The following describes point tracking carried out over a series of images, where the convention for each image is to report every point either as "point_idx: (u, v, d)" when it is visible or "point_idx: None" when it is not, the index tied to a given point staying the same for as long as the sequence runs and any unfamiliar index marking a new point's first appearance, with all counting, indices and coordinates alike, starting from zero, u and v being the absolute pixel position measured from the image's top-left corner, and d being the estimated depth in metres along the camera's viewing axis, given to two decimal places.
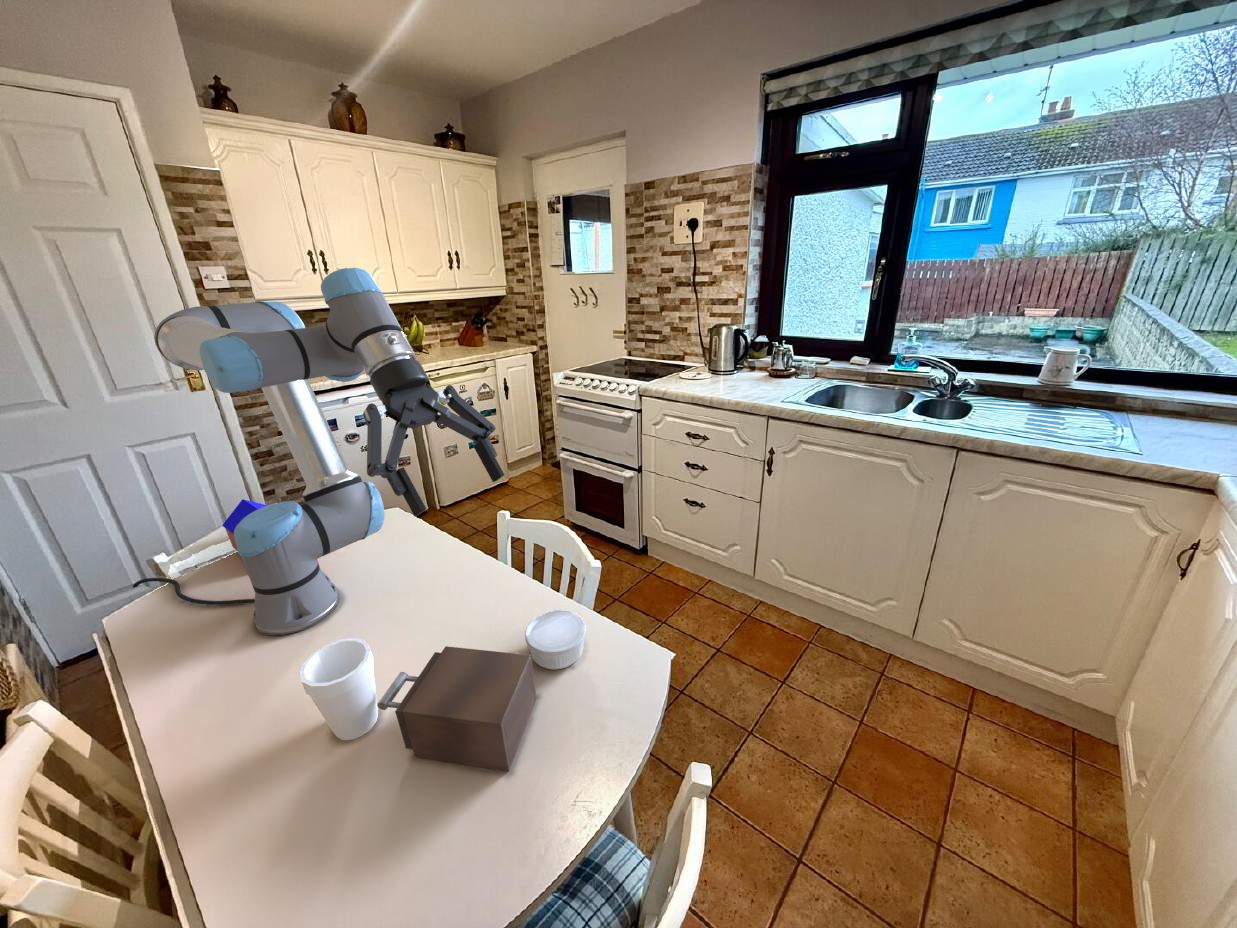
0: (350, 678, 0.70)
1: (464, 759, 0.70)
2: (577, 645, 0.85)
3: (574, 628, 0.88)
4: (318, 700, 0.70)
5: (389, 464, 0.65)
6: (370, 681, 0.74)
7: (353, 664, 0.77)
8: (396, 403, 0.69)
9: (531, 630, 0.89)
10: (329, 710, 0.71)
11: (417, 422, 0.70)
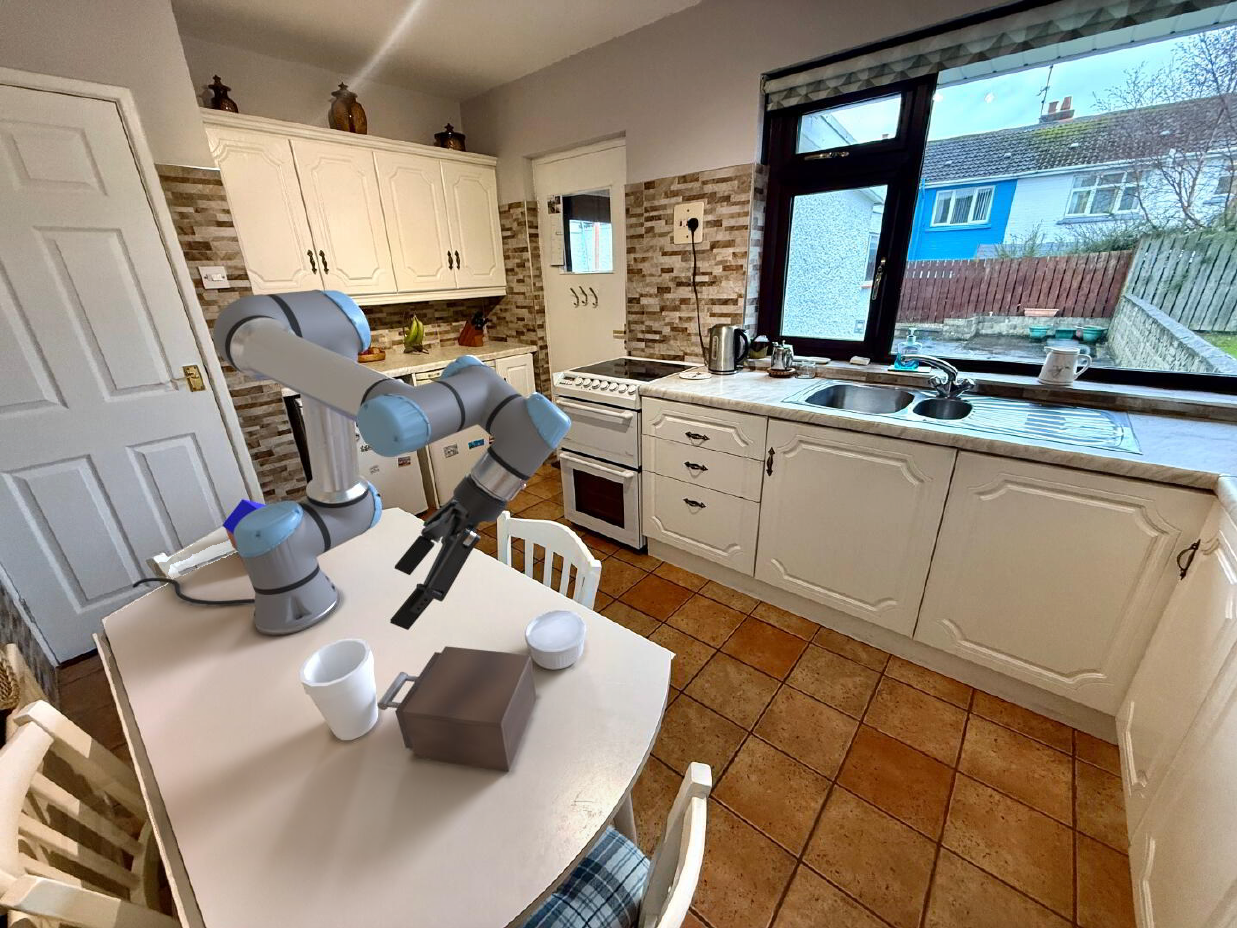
0: (350, 678, 0.70)
1: (464, 759, 0.70)
2: (577, 645, 0.85)
3: (574, 628, 0.88)
4: (318, 700, 0.70)
5: None
6: (370, 681, 0.74)
7: (353, 664, 0.77)
8: None
9: (531, 630, 0.89)
10: (329, 710, 0.71)
11: None
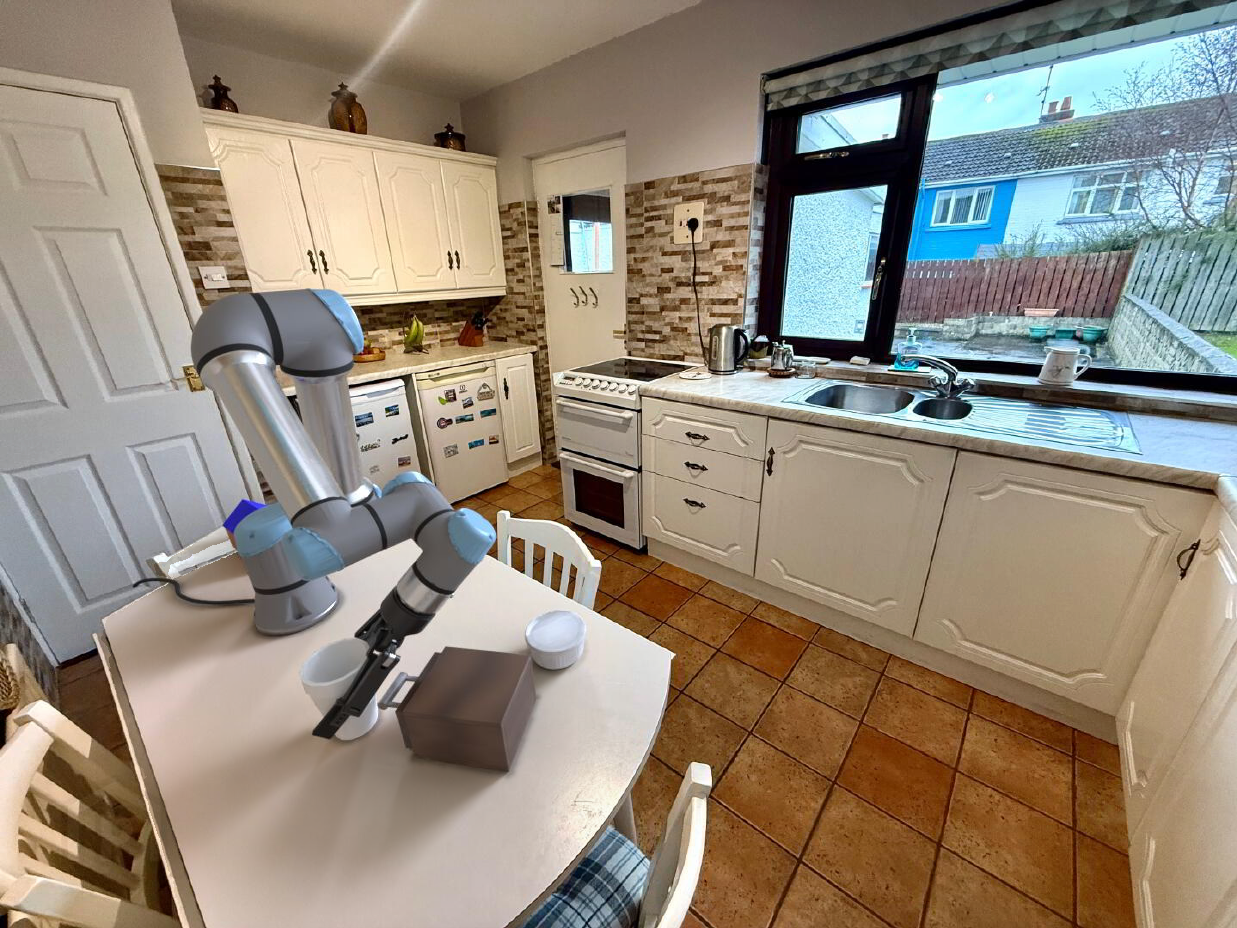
0: (350, 678, 0.70)
1: (464, 759, 0.70)
2: (577, 645, 0.85)
3: (574, 628, 0.88)
4: (318, 700, 0.70)
5: None
6: None
7: (353, 664, 0.78)
8: None
9: (531, 630, 0.89)
10: None
11: None
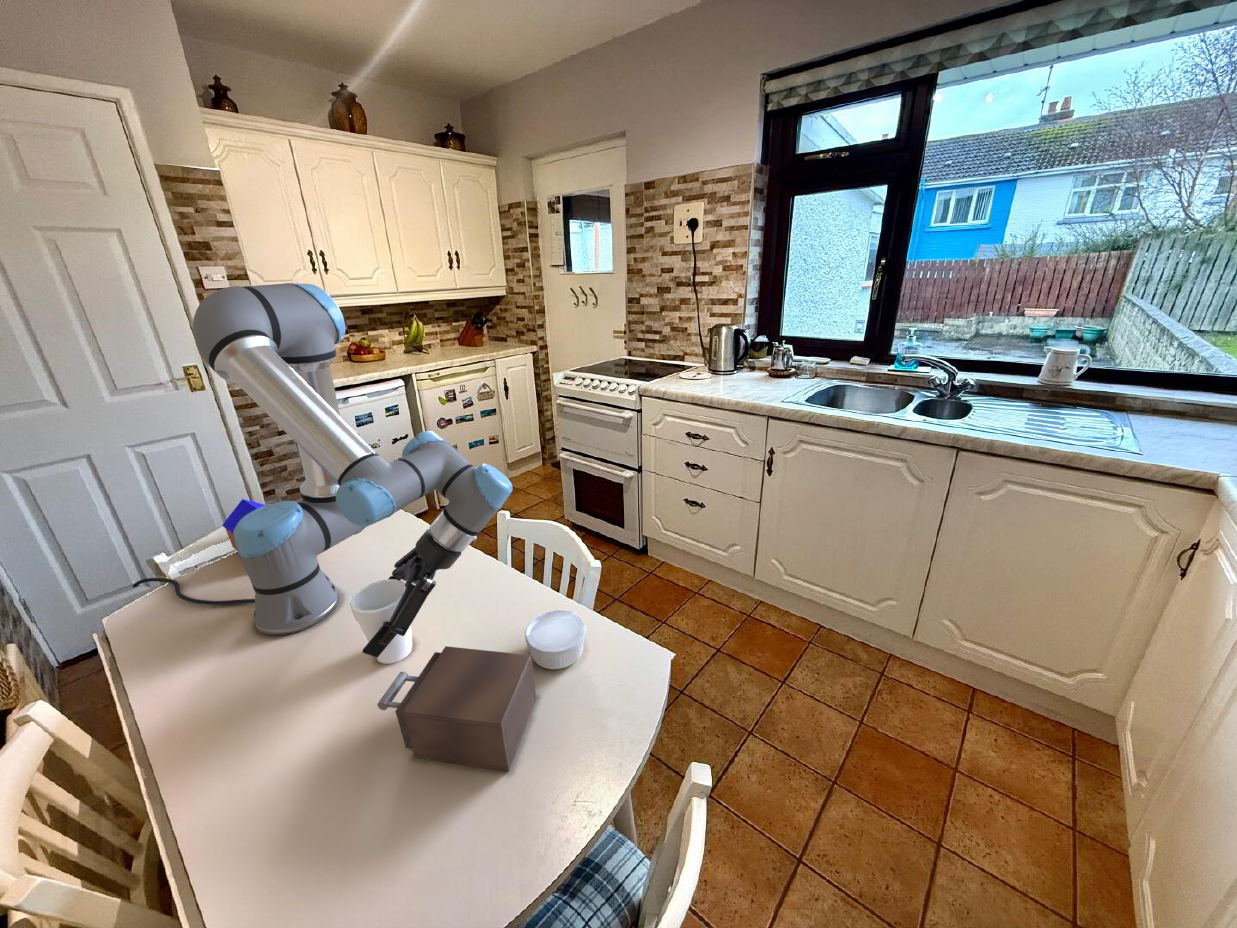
0: (392, 608, 0.84)
1: (464, 759, 0.70)
2: (577, 645, 0.85)
3: (574, 628, 0.88)
4: (366, 626, 0.84)
5: None
6: None
7: (392, 602, 0.92)
8: None
9: (531, 630, 0.89)
10: None
11: None
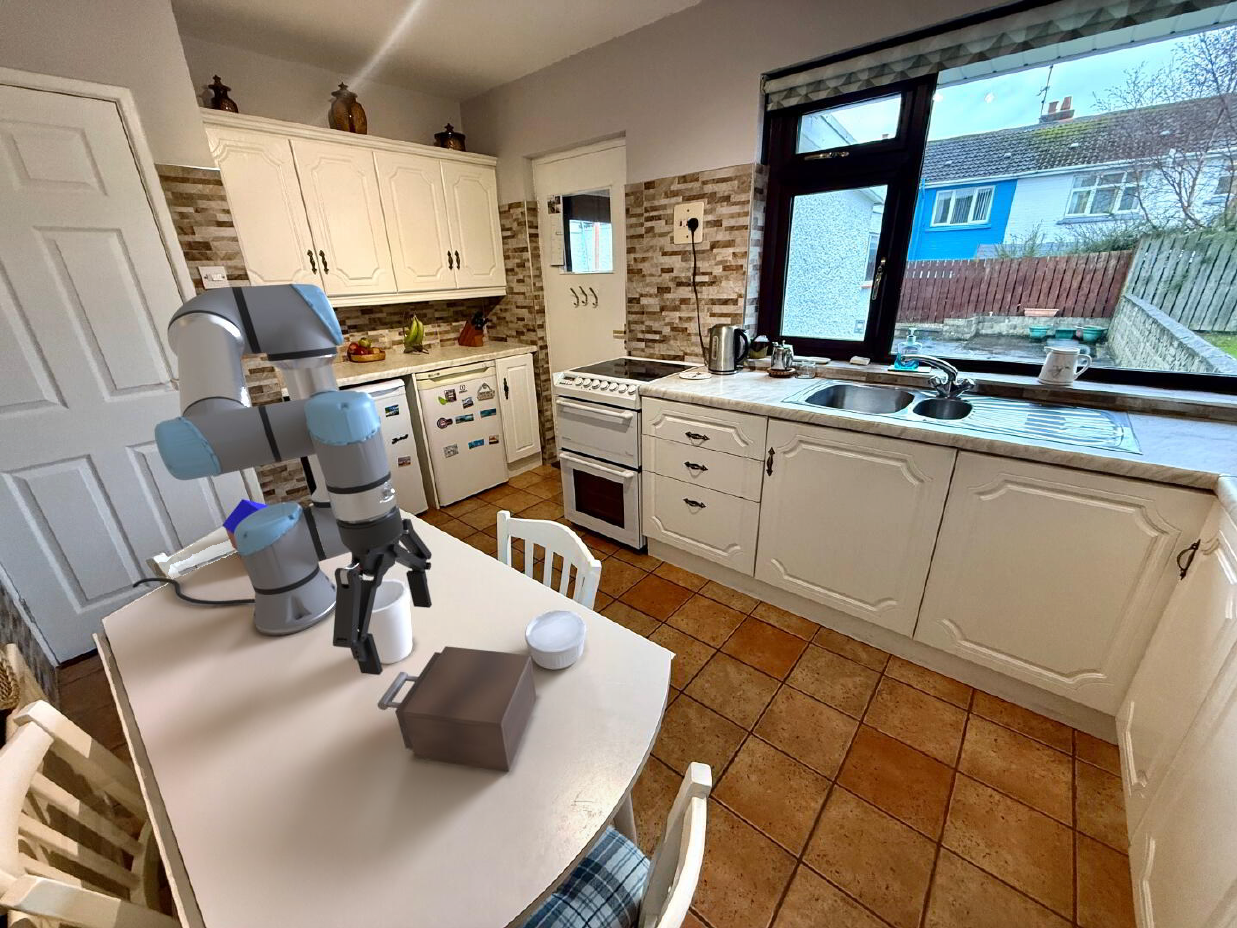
0: (392, 608, 0.84)
1: (464, 759, 0.70)
2: (577, 645, 0.85)
3: (574, 628, 0.88)
4: None
5: (362, 635, 0.62)
6: (407, 613, 0.88)
7: (392, 602, 0.92)
8: (371, 559, 0.63)
9: (531, 630, 0.89)
10: (374, 635, 0.85)
11: (383, 574, 0.66)
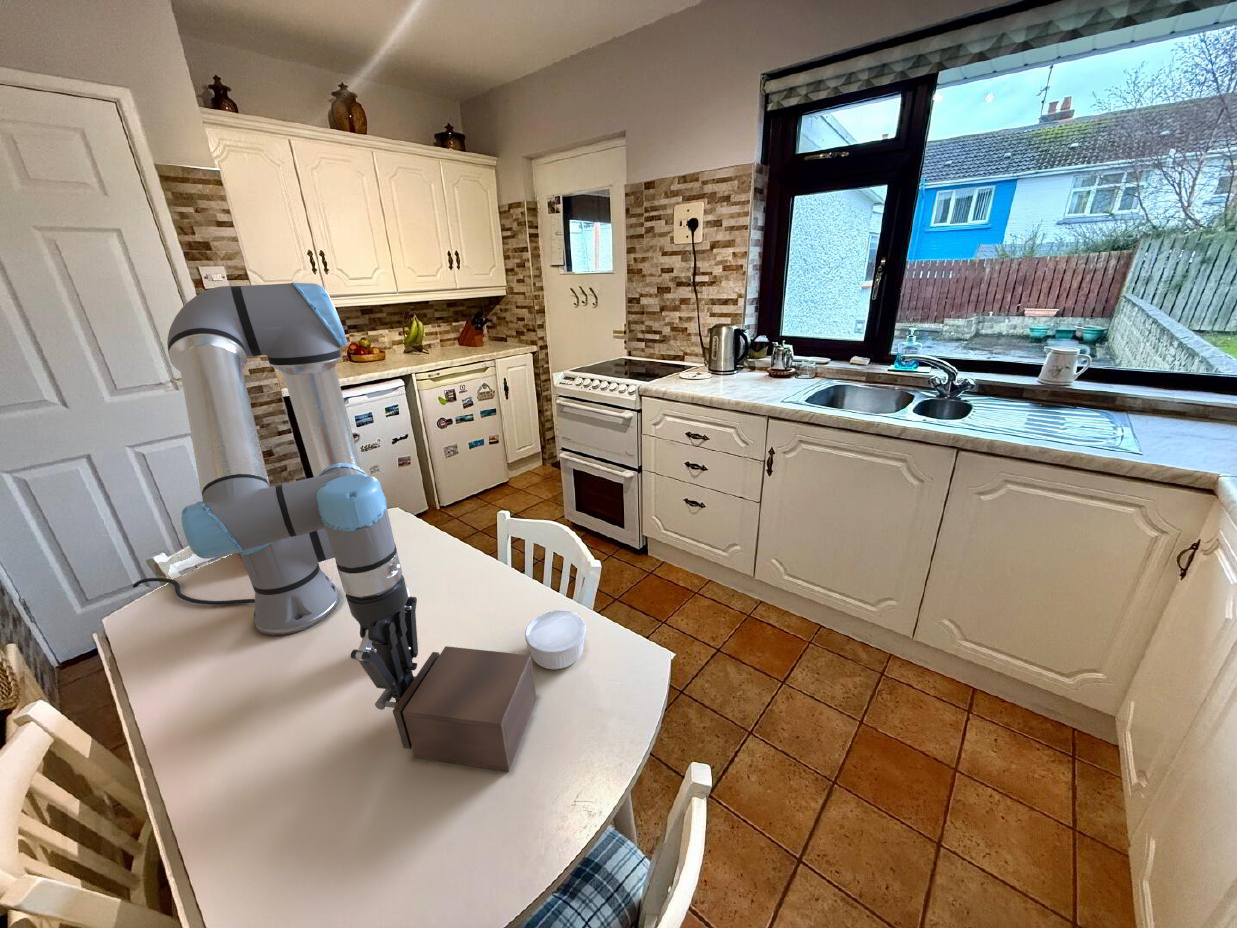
0: None
1: (464, 759, 0.70)
2: (577, 645, 0.85)
3: (574, 628, 0.88)
4: None
5: (400, 680, 0.72)
6: None
7: None
8: (378, 629, 0.67)
9: (531, 630, 0.89)
10: None
11: None
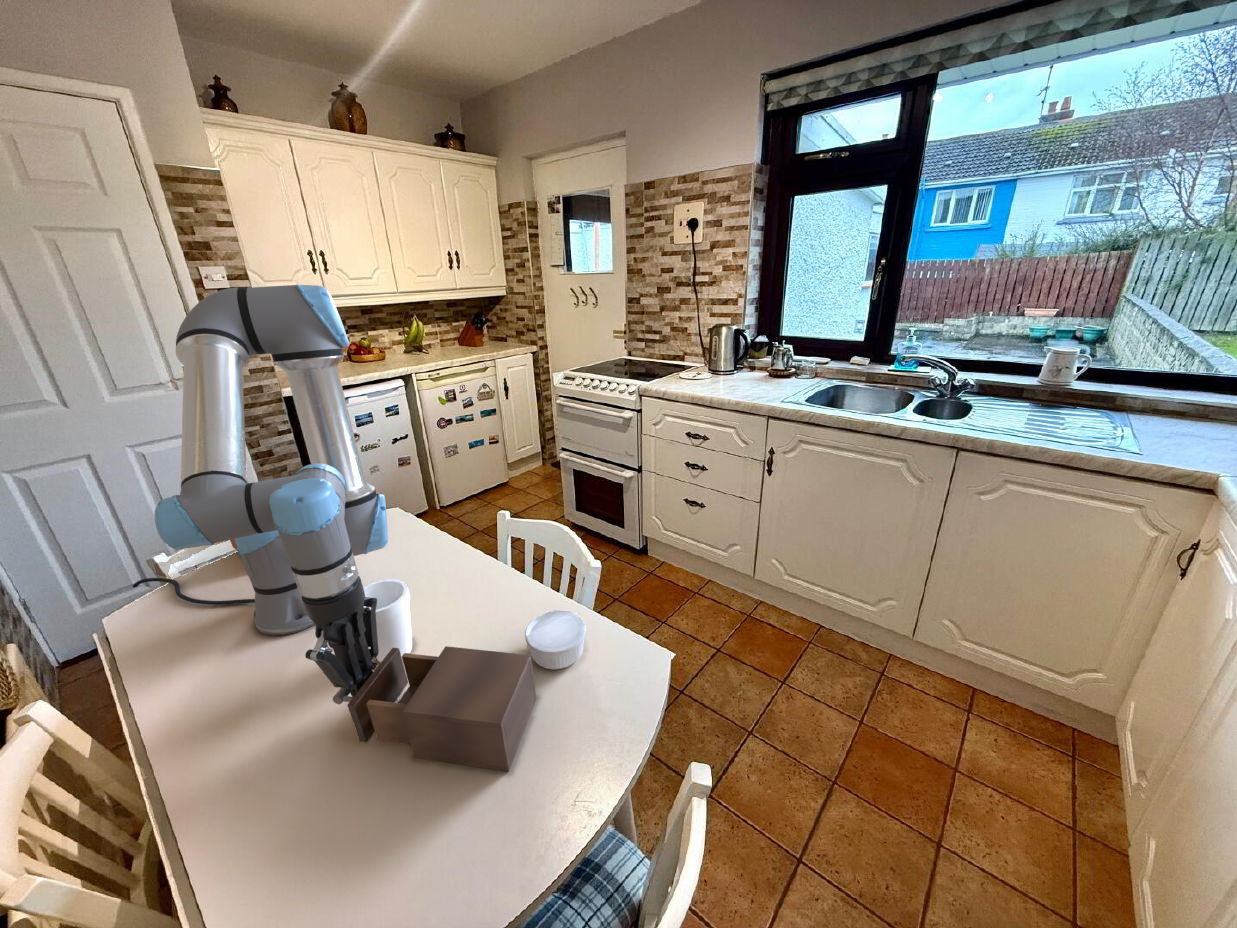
0: (392, 608, 0.84)
1: (464, 759, 0.70)
2: (577, 645, 0.85)
3: (574, 628, 0.88)
4: None
5: (358, 679, 0.74)
6: (407, 613, 0.88)
7: (392, 602, 0.92)
8: (334, 630, 0.69)
9: (531, 630, 0.89)
10: None
11: None
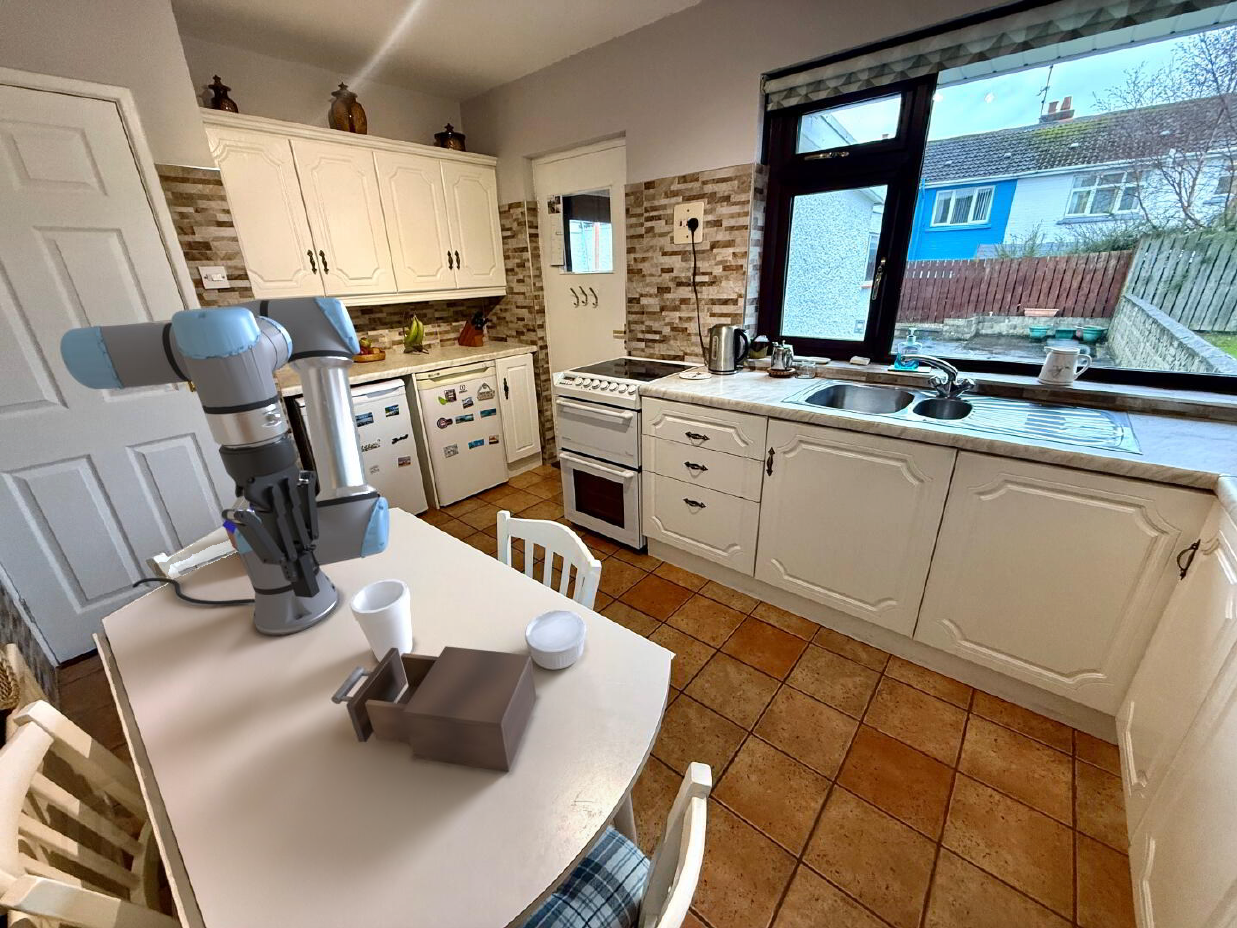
0: (392, 607, 0.84)
1: (464, 759, 0.70)
2: (577, 645, 0.85)
3: (574, 628, 0.88)
4: (366, 626, 0.84)
5: (291, 557, 0.65)
6: (407, 613, 0.88)
7: (392, 602, 0.92)
8: (258, 490, 0.59)
9: (531, 630, 0.89)
10: (374, 635, 0.85)
11: None
